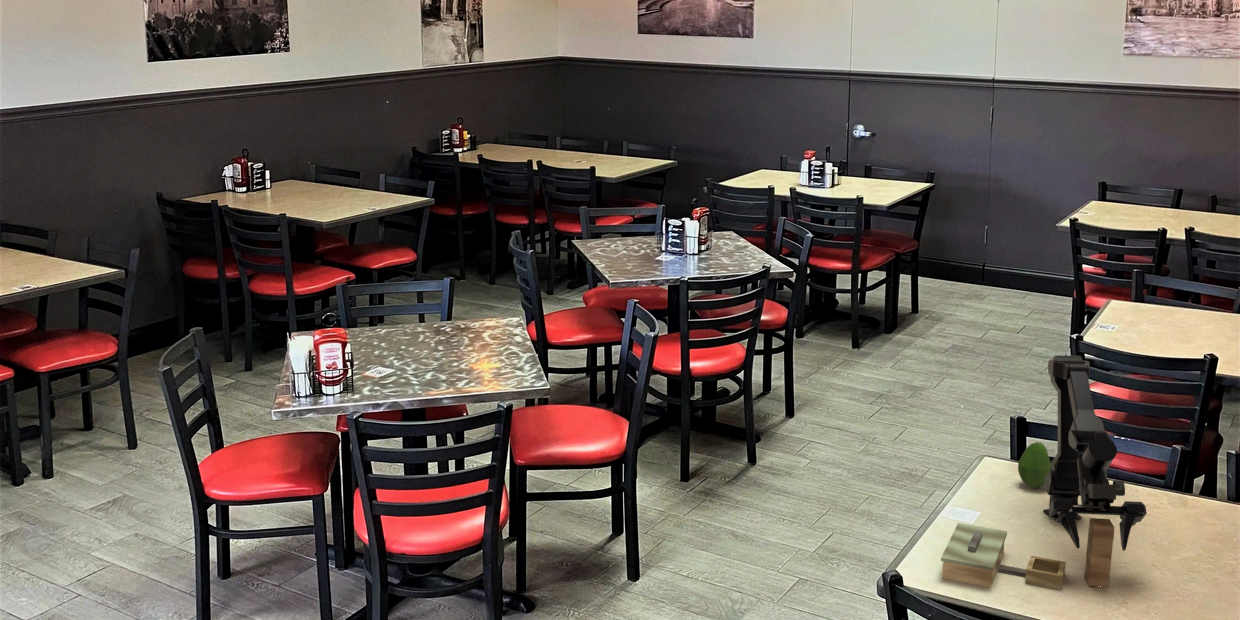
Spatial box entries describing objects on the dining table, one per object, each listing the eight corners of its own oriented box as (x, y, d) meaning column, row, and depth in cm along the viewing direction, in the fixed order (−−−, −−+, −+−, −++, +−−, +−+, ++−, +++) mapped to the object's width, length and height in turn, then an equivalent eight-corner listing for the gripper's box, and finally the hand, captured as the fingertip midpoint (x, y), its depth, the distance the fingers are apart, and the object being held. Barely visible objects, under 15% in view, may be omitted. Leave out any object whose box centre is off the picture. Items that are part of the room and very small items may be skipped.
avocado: (1050, 482, 294) (1053, 439, 291) (1049, 494, 287) (1053, 450, 284) (1017, 478, 297) (1020, 435, 293) (1015, 490, 289) (1019, 446, 286)
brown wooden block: (1084, 577, 245) (1089, 518, 242) (1103, 578, 245) (1109, 518, 241) (1088, 586, 242) (1094, 526, 238) (1108, 587, 241) (1114, 527, 237)
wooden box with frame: (956, 542, 262) (958, 517, 261) (1067, 562, 252) (1070, 537, 250) (939, 578, 246) (941, 552, 245) (1057, 602, 236) (1059, 575, 234)
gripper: (1055, 463, 242) (1062, 534, 234) (1148, 467, 239) (1158, 538, 231) (1045, 482, 251) (1051, 551, 244) (1134, 486, 249) (1144, 555, 241)
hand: (1101, 548), depth 240 cm, fingers open, 9 cm apart
